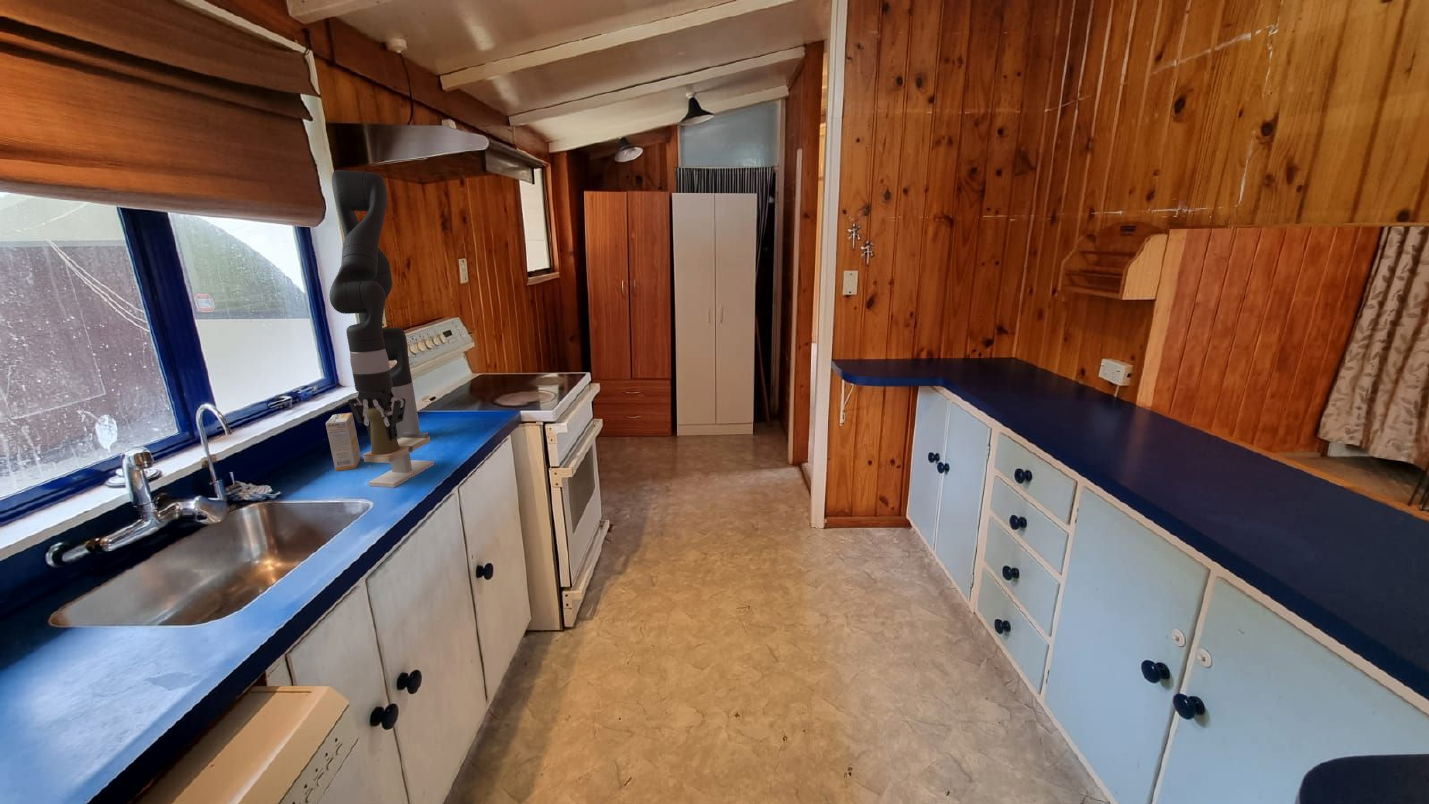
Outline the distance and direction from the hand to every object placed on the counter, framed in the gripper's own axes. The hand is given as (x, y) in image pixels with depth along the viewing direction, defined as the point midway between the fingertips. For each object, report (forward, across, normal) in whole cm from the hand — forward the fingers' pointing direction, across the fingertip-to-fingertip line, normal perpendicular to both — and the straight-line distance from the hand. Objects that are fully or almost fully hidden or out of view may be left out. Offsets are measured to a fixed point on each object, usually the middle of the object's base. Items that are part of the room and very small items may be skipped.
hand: (383, 439), depth 135 cm
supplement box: (+11, +20, -9) cm, 24 cm away
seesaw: (+4, 0, -4) cm, 6 cm away
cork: (+3, 0, 0) cm, 3 cm away
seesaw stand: (+11, 0, -4) cm, 12 cm away
